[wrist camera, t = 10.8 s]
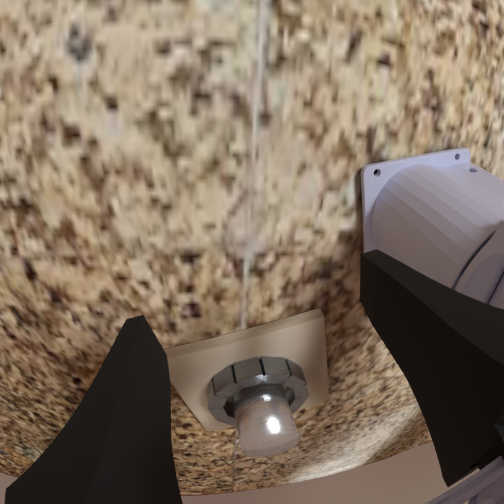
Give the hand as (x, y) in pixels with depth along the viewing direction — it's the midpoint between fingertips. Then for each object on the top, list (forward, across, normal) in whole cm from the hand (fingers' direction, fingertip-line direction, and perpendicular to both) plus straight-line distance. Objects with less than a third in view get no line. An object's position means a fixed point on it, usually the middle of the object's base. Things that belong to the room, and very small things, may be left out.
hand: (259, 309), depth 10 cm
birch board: (+9, +2, +17) cm, 20 cm away
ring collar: (+9, +2, +17) cm, 20 cm away
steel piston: (+8, +2, +17) cm, 19 cm away
